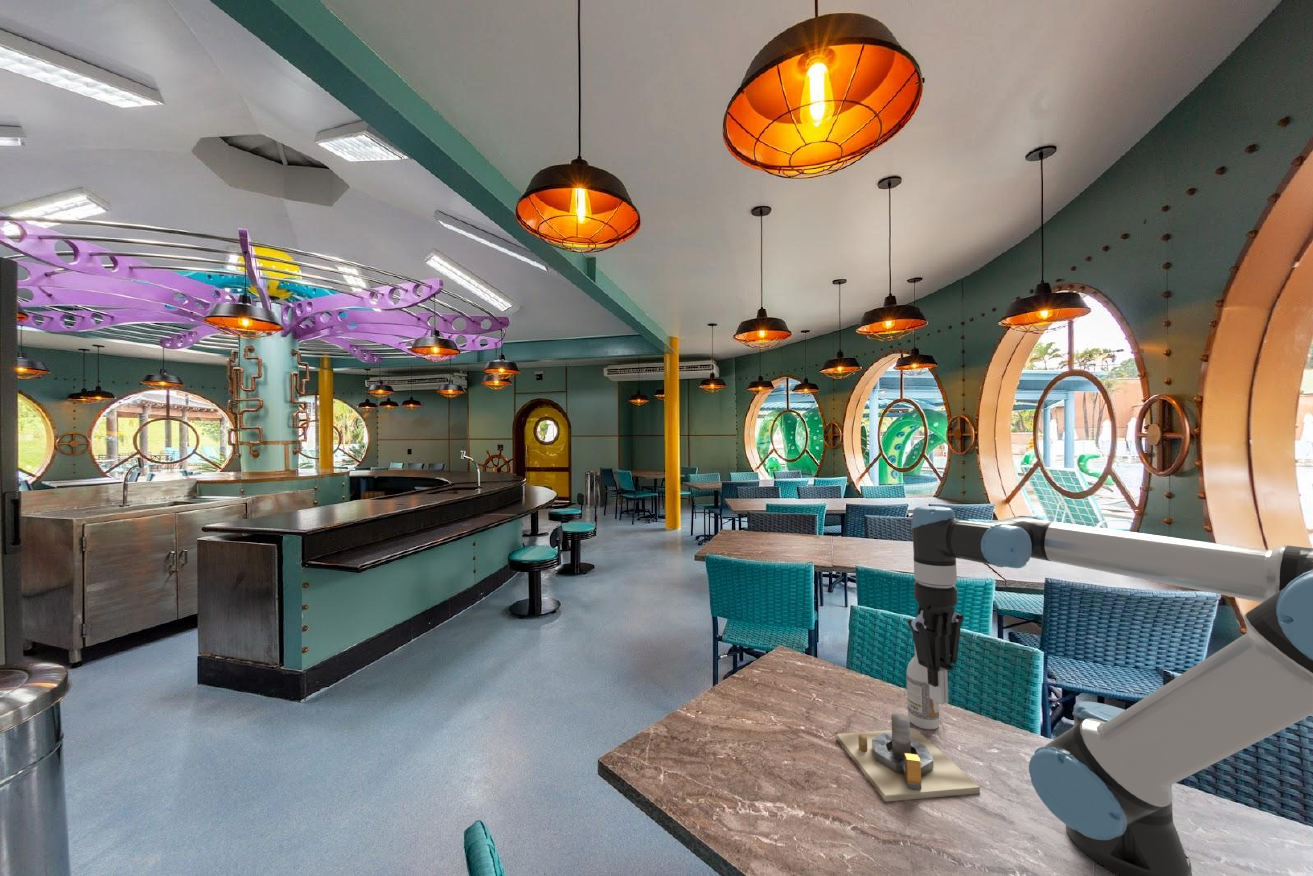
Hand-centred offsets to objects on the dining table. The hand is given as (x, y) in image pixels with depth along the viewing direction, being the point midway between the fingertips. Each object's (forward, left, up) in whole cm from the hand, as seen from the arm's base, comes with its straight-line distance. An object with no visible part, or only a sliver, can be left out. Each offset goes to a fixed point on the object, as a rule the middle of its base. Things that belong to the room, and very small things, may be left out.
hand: (938, 700), depth 94 cm
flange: (+7, +3, -17) cm, 19 cm away
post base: (+9, +2, -18) cm, 21 cm away
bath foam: (+23, -13, -19) cm, 32 cm away
